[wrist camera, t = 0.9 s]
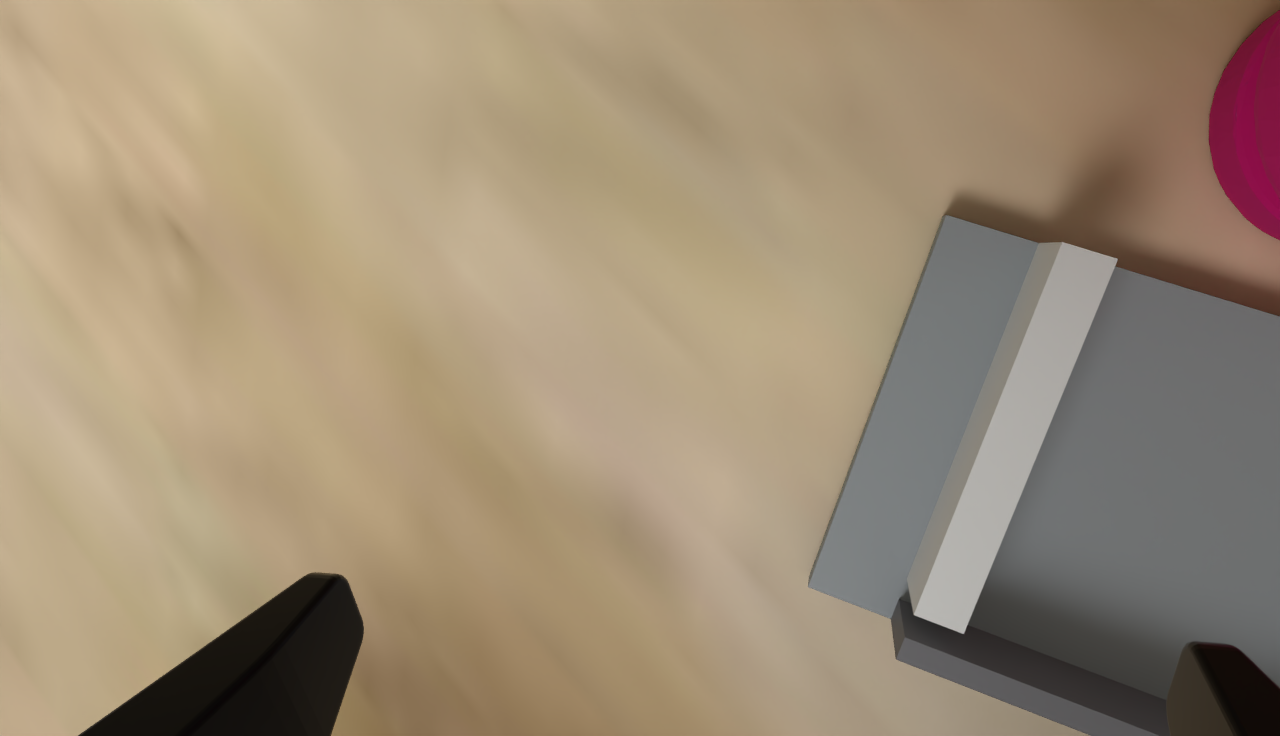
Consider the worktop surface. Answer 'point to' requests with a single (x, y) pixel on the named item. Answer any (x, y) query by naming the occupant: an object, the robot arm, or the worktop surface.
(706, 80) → the worktop surface
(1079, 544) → the rail dock
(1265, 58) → the pepper mill
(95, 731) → the robot arm
